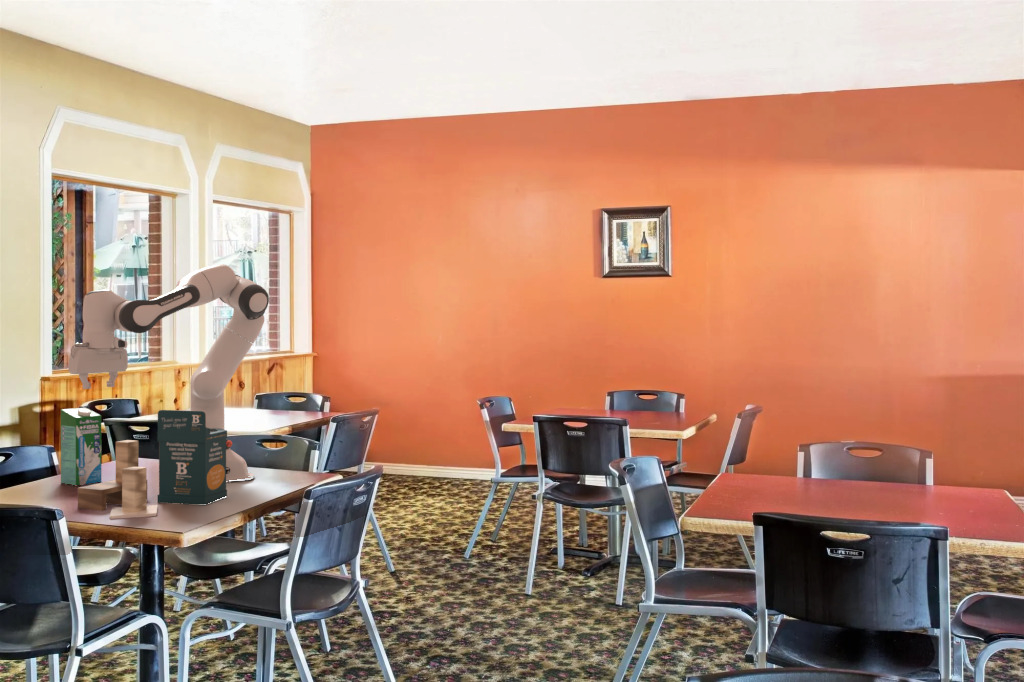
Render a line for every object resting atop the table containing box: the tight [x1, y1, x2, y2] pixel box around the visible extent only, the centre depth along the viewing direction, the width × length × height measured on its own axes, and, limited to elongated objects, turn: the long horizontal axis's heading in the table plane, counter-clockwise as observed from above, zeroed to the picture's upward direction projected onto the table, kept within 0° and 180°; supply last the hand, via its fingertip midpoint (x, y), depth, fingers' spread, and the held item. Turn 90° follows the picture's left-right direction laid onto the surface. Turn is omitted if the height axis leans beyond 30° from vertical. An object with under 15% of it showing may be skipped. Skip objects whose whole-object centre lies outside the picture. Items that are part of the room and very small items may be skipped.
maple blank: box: [121, 466, 148, 512], centre depth 251 cm, size 4×4×12 cm
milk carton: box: [60, 407, 102, 486], centre depth 297 cm, size 9×9×25 cm
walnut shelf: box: [77, 479, 148, 512], centre depth 264 cm, size 18×9×6 cm, turn 161°
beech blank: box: [115, 439, 139, 482], centre depth 269 cm, size 4×4×12 cm
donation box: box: [157, 409, 228, 505], centre depth 271 cm, size 16×16×28 cm
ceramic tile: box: [109, 504, 159, 520], centre depth 251 cm, size 12×12×1 cm
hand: (98, 387), depth 270 cm, fingers open, 8 cm apart
